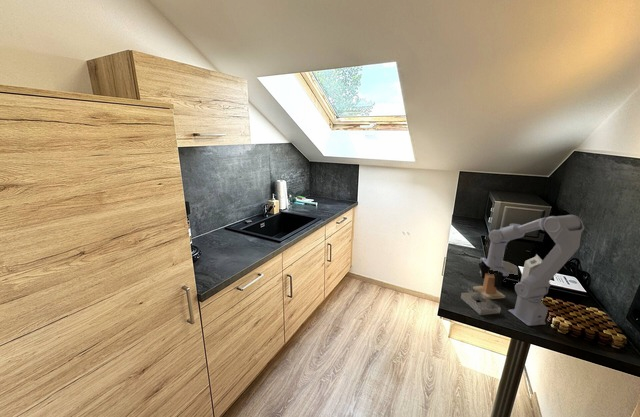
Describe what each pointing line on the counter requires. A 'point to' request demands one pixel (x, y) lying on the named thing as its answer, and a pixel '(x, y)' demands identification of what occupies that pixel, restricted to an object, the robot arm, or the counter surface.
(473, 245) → the counter surface
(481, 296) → the socket block
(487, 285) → the peg
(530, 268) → the milk carton
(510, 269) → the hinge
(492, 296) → the board
